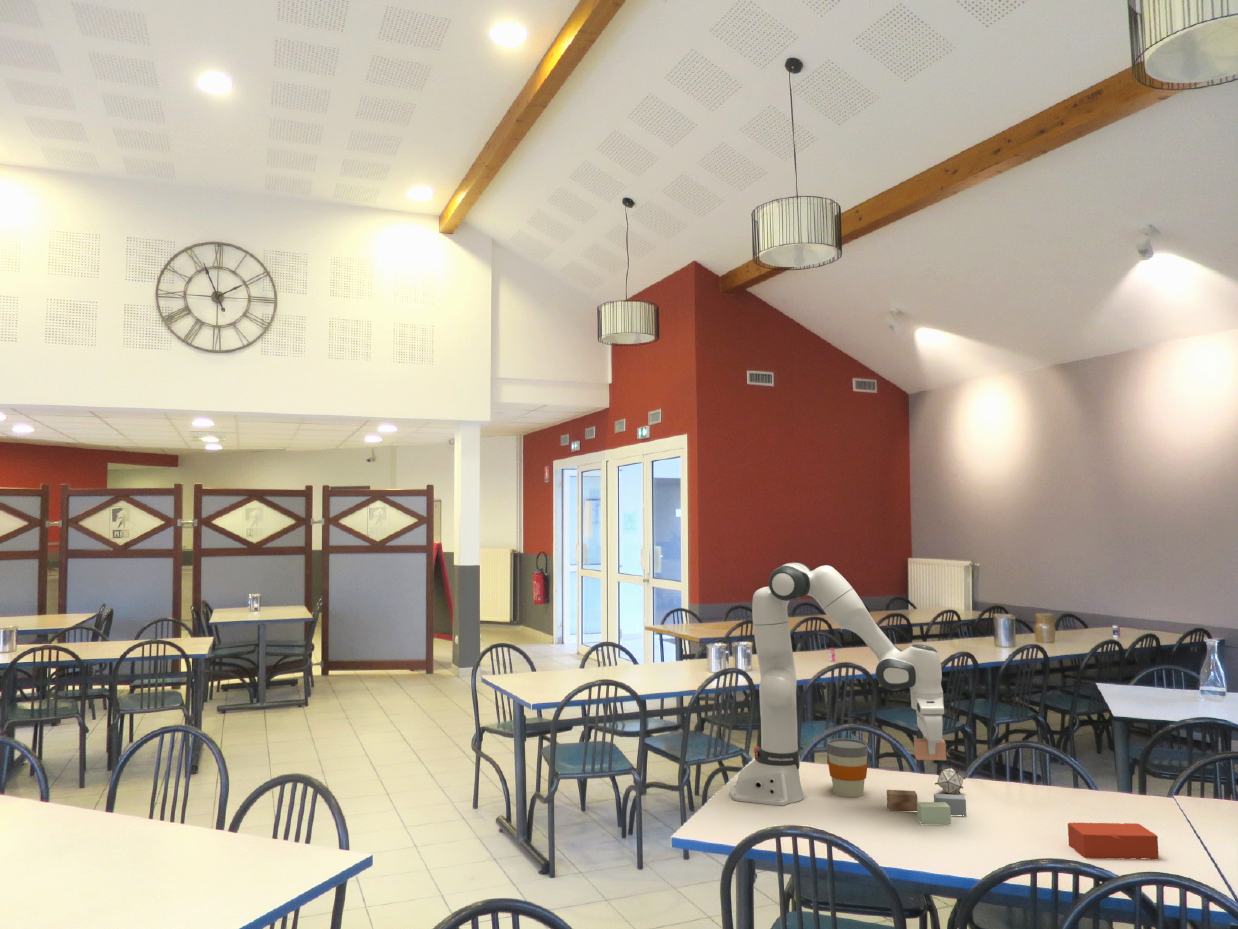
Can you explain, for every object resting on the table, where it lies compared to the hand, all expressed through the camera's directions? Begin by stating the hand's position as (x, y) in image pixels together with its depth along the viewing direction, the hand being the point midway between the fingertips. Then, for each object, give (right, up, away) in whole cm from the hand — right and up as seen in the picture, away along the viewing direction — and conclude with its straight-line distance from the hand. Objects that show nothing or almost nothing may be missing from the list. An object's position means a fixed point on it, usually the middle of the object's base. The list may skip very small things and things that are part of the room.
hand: (930, 751), depth 246 cm
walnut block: (-6, -19, +5) cm, 21 cm away
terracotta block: (0, -2, 0) cm, 2 cm away
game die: (+13, -20, +19) cm, 31 cm away
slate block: (+6, -19, +1) cm, 20 cm away
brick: (+36, -17, -28) cm, 49 cm away
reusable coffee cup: (-18, -20, +21) cm, 34 cm away
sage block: (-1, -18, -6) cm, 19 cm away
